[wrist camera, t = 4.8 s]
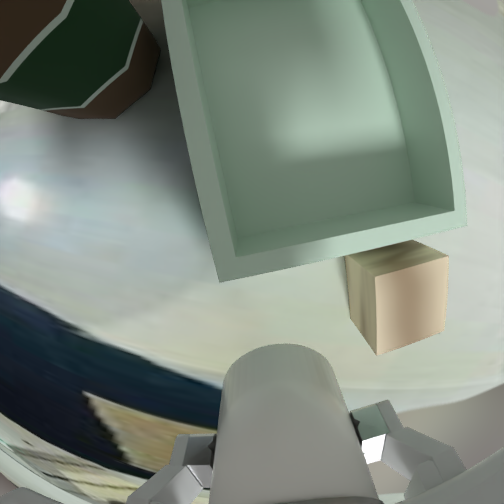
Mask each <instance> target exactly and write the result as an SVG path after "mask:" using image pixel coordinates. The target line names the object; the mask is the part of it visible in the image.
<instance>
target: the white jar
mask: <svg viewBox="0 0 504 504" xmlns="http://www.w3.org/2000/svg"><path fill="white" fill-rule="evenodd" d="M209 504H384V503H383V502H382V501H381V500H379V498H378V495H377V492H376V489H375V486H374V483H373V480H372V477H371V474H370V471H369V468H368V465H367V462H366V459H365V456H364V453H363V450H362V448H361V445H360V442H359V439H358V436H357V433H356V431H355V428H354V425H353V422H352V419H351V417H350V414H349V411H348V408H347V406H346V403H345V400H344V398H343V395H342V392H341V390H340V387H339V384H338V382H337V379H336V376H335V374H334V371H333V368H332V366H331V365H330V363H329V362H328V360H327V359H326V358H325V357H324V356H322V355H321V354H320V353H318V352H317V351H315V350H313V349H310V348H308V347H305V346H301V345H295V344H274V345H268V346H264V347H260V348H257V349H254V350H252V351H250V352H248V353H246V354H245V355H243V356H241V357H240V358H239V359H238V360H236V361H235V362H234V363H233V364H232V365H231V367H230V368H229V370H228V371H227V373H226V375H225V378H224V381H223V389H222V397H221V405H220V413H219V421H218V429H217V438H216V446H215V454H214V463H213V471H212V480H211V489H210V498H209Z"/></svg>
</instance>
